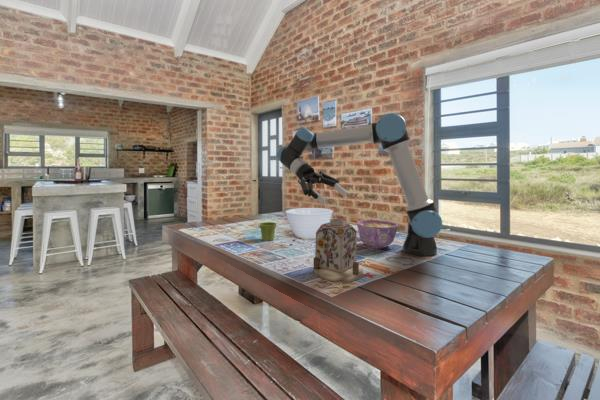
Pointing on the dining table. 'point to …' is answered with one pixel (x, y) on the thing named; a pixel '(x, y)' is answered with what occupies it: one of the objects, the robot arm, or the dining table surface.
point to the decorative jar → (336, 246)
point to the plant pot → (268, 230)
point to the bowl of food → (377, 232)
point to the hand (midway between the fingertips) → (335, 198)
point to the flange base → (345, 276)
